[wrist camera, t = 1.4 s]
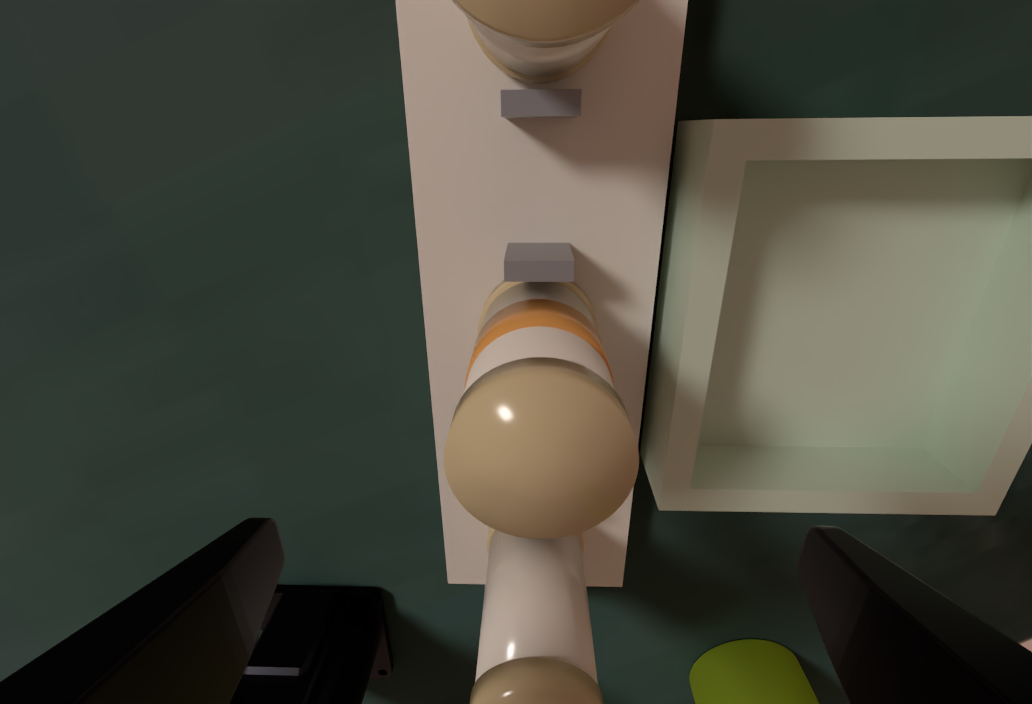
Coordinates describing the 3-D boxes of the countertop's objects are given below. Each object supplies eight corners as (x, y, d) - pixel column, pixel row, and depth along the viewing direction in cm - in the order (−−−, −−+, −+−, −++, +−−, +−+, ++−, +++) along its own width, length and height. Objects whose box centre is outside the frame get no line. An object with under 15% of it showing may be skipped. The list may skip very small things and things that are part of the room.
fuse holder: (617, 560, 24) (632, 638, 20) (452, 557, 24) (438, 633, 21) (688, -135, 13) (747, -234, 10) (396, -128, 14) (347, -220, 10)
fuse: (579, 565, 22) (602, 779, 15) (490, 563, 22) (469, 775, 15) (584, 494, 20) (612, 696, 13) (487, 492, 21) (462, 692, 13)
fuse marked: (591, 375, 18) (630, 540, 11) (482, 375, 18) (450, 537, 11) (597, 269, 17) (648, 380, 9) (478, 269, 17) (436, 378, 9)
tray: (924, 456, 21) (995, 515, 18) (640, 453, 21) (658, 510, 18) (1061, 117, 16) (1197, 114, 12) (678, 121, 16) (714, 119, 13)
